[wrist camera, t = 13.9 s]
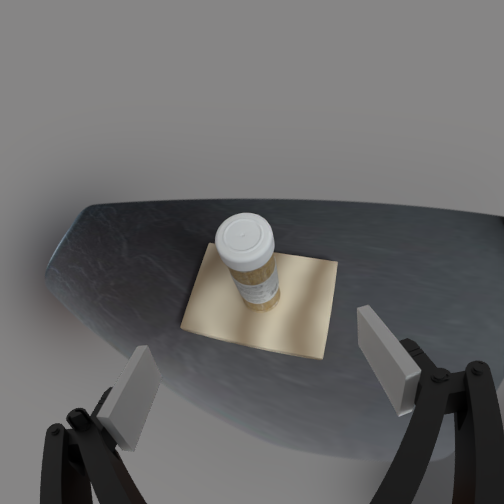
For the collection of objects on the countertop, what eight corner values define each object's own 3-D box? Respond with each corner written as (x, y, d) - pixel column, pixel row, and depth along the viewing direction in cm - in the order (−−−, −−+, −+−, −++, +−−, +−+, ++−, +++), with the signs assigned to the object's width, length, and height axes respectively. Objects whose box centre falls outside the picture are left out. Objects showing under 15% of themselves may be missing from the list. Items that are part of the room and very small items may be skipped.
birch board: (336, 267, 35) (337, 261, 34) (321, 360, 30) (322, 358, 29) (211, 248, 39) (209, 242, 38) (184, 330, 34) (180, 327, 33)
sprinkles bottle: (257, 271, 35) (237, 202, 23) (288, 290, 33) (284, 225, 22) (235, 301, 33) (202, 243, 22) (266, 321, 32) (249, 271, 20)
